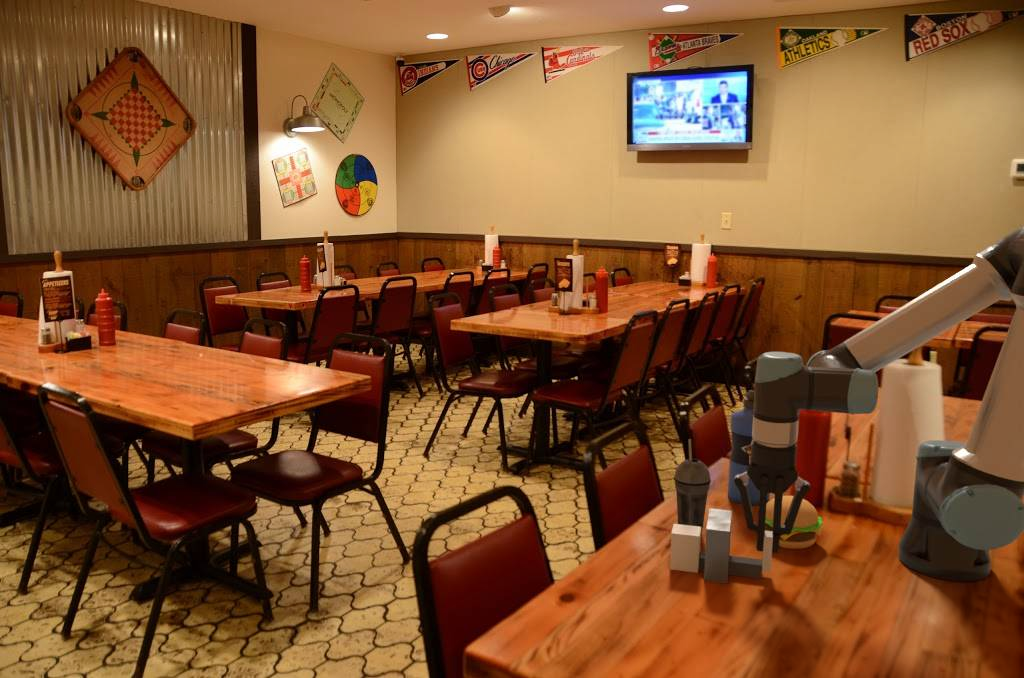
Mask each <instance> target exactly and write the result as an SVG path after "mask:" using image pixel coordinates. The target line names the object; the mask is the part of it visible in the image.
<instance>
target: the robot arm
mask: <svg viewBox="0 0 1024 678" xmlns="http://www.w3.org/2000/svg"><path fill="white" fill-rule="evenodd" d="M998 301H1006V302H1010V301H1013V302H1014V304H1015V307H1016V309H1015V311H1014V315H1013V317H1012V318H1011V322H1010V325H1009V328H1008V330H1007V333H1006V336H1005V338H1004V342H1003V344H1002V346H1001V349H1000V352H999V354H998V357H997V360H996V362H995V365H994V368H993V370H992V373H991V375H990V379H989V380H988V384H987V386H986V390H985V391H984V394H983V398H982V400H981V403H980V404H979V405H980V406H979V408H978V411H977V414H976V415H975V418H974V421H973V424H972V426H971V430H970V431H969V435H968V437H967V440H966V442H965V441H964V442H963V441H954V440H941V439H940V440H938V439H937V440H936V439H934V440H925V441H923V442H921V443H920V444H919V445H918V448H917V454H916V456H915V460H916V464H915V476H914V489H913V497H912V498H913V499H912V513H911V518H910V521H909V523H908V525H907V526H906V529H905V530H904V532H903V534H902V537H901V538H900V540H899V543H898V553H897V557H898V558H899V561H900V562H901V563H903V564H904V565H905V566H906V567H908V568H910V569H911V570H913V571H916V572H918V573H921V574H924V575H925V576H926V575H927V576H929V577H933V578H938V579H941V580H945V581H946V580H947V581H955V582H956V581H957V582H974V581H975V582H976V581H980V580H983V579H985V578H987V577H989V575H990V574H991V567H992V566H991V564H992V558H991V555H990V551H991V550H998V549H1000V548H1002V547H1006V546H1008V545H1011V544H1012V543H1014V542H1015V541H1016V540H1017V539H1019V537H1020V536H1021V535H1022V533H1023V532H1024V503H1023V498H1024V224H1023V225H1022V226H1019V227H1018V228H1016V229H1015V230H1013V231H1011V232H1010V233H1008V234H1007V235H1005V236H1003V237H1001V238H999V240H997V241H995V242H994V243H992V244H991V245H989V246H988V247H986V248H985V249H982V250H981V251H980V252H978V253H977V254H975V255H974V257H973V260H972V263H971V264H970V265H968V266H966V267H965V268H963V269H961V270H960V271H958V272H957V273H954V274H953V275H951V276H950V277H948V278H947V279H945V280H944V281H942V282H940V283H938V284H936V285H935V286H933V287H932V288H931V289H929V290H927V291H925V292H923V293H922V294H920V295H919V296H917V297H915V298H914V299H912V300H911V301H909V302H907V303H905V304H904V305H902V306H900V307H898V308H897V309H896V310H894V311H892V312H890V313H889V314H888V315H886V316H883V317H882V318H881V319H879V320H877V321H875V322H874V323H872V324H871V325H869V326H867V327H866V328H864V329H862V330H861V331H859V332H858V333H856V334H854V335H852V336H851V337H849V338H847V339H846V340H844V341H843V342H841V343H839V344H838V345H836V346H834V347H832V348H830V349H829V350H828V349H827V350H820V351H818V352H816V353H814V354H812V356H811V357H809V359H808V361H807V363H806V365H805V364H804V361H803V359H804V358H803V357H802V356H801V355H800V354H797V353H793V352H786V351H768V352H767V351H766V352H764V353H762V354H760V355H759V356H758V358H757V362H756V370H755V377H754V389H755V392H754V414H753V427H752V437H753V438H754V440H753V441H752V445H751V462H750V465H749V466H748V468H747V471H746V472H744V473H742V474H736V475H735V478H734V482H735V484H736V486H737V487H738V489H739V491H740V495H741V499H742V504H741V505H742V509H743V514H744V518H745V519H744V520H745V524H746V528H747V530H748V531H752V532H754V533H756V551H757V552H762V558H761V559H762V572H766V573H767V572H768V573H771V571H772V559H773V558H772V555H773V554H778V553H779V550H780V546H779V540H780V536H781V535H784V534H786V535H789V534H790V533H791V531H792V528H793V525H794V522H795V520H796V517H797V514H798V511H799V508H800V505H801V502H802V500H803V499H804V497H805V496H806V495H807V494H808V493H809V492H810V491H811V485H810V481H808V480H804V479H803V478H802V477H800V476H799V473H798V471H797V468H796V467H797V466H796V465H797V463H796V462H797V449H798V446H797V445H796V443H797V442H798V438H799V437H798V436H799V435H798V434H799V422H800V421H799V420H800V419H799V418H800V411H812V412H825V413H826V412H827V413H837V414H838V413H839V414H849V415H864V414H865V415H869V414H872V413H873V412H874V411H875V410H876V408H877V405H878V401H879V400H878V399H879V379H878V375H877V374H876V372H878V371H879V370H881V369H883V368H885V367H887V366H888V365H890V364H892V363H894V362H895V361H897V360H899V359H900V358H902V357H904V356H906V355H907V354H909V353H910V352H912V351H914V350H916V349H918V348H919V347H921V346H923V345H924V344H926V343H928V342H929V341H931V340H933V339H935V338H936V337H938V336H940V335H942V334H943V333H946V331H949V330H950V329H952V328H953V327H955V326H957V325H959V324H961V323H962V322H963V321H966V320H968V319H969V318H971V317H973V316H974V315H976V314H977V313H980V312H981V311H982V310H984V309H986V308H988V307H990V306H992V305H993V304H995V303H997V302H998ZM749 478H750V479H751V480H752V482H753V483H754V485H755V486H756V488H757V489H758V490H759V491H760V495H759V505H758V512H757V514H758V515H757V521H755V520H754V519H755V518H754V513H753V510H752V505H751V503H750V498H749V493H748V488H747V485H748V482H749V481H748V479H749ZM793 485H794V490H795V491H794V494H793V496H794V497H793V499H792V502H791V505H790V508H789V511H788V514H787V517H786V520H785V523H784V525H781V511H782V498H783V496H784V493H786V492H787V491H788V490H789V489H790V488H791V486H793ZM767 493H770V494H774V514H773V531H765V519H766V504H767Z"/></svg>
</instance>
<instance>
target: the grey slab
mask: <svg viewBox="0 0 1024 678" xmlns="http://www.w3.org/2000/svg"><path fill="white" fill-rule="evenodd" d="M732 516H733V515H732V510H729V509H720V508H712V507H711V508H710V507H709V509H708V516H707V517H708V518H707V522H706V528H705V529H706V530H705V549H704V550H705V552H704V553H705V569H704V571H703V573H704V574H703V581H704V582H710V583H712V582H713V583H719V584H726V585H728V578H729V574H728V562H729V556H731V555H730V554H731V552H730V551H731V533H732Z"/></svg>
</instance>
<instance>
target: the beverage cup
mask: <svg viewBox="0 0 1024 678" xmlns="http://www.w3.org/2000/svg"><path fill="white" fill-rule="evenodd" d="M687 440H688V459H685V460H683V461H682V462H680V464H678V466H677V467H676V469H675V471H674V476H673V480H674V486H675V490H676V491H675V492H676V508H677V509H676V511H677V524H681V525H690V526H698V527H701V536H702V532H703V528H704V523H705V517H706V516H705V515H706V506H707V500H708V492H709V491H710V486H711V482H712V480H711V473H710V470H709V468H708V466H707V465H706V464H705V463H704V462H703V461H701V460H699V459H696V458H693V450H692V448H693V447H692V439H691V438H689V439H687Z"/></svg>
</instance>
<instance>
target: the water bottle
mask: <svg viewBox="0 0 1024 678" xmlns="http://www.w3.org/2000/svg"><path fill="white" fill-rule="evenodd" d="M754 392H755V388H752V389H749V390H748V391H747V392H746V393H745V394H744V396H745V398H743V404H742V405H743V406H742V407H743V409H740V410H738V411H735V412H733V413H731V415H730V426H729V428H730V431H731V432H730V433H731V436H730V437H731V444H732V446H731V451H730V457H729V461H728V462H729V464H728V480H727V481H728V483H727V498H728V499H729V500H730V501H732V502H734V503H736V504H739V505H743V504H742V499H741V495H740V491H739V489H738V487H737V486H736V484H735V482H734V478H735V475H736V474H742V473H744V472H746V471H747V468H748V466H749V465H750V462H751V445H752V441H753V440H754V438H753V437H752V427H753V414H754ZM748 481H749V482H748V485H747V488H748V493H749V498H750V503H751V506H759V495H760V491H759V490H758V489H757V488H756V486H755V485H754V483H753V482H752V480H751V479H750V478H749V479H748ZM770 495H771V493H767V502H768V501H770Z"/></svg>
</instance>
